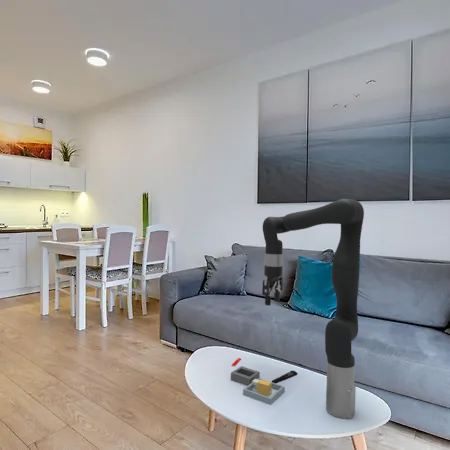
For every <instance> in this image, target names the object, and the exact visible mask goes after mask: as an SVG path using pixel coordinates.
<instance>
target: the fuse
mask: <svg viewBox="0 0 450 450" xmlns="http://www.w3.org/2000/svg"><path fill="white" fill-rule="evenodd" d="M260 379H261V380H258V379H254V380H253V381H252V384H253V385H256V386H255V387H254V388H252V390H251V391H253V392H256V393H259V394H261V395H264V396H267V397H270V396H271V394H272V390H273V389H272V383H271V382H272V381H269V382H268V380H266V379H263V378H260ZM262 379H263V380H262ZM265 380H266V381H265Z"/></svg>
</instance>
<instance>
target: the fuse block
mask: <svg viewBox="0 0 450 450" xmlns="http://www.w3.org/2000/svg"><path fill="white" fill-rule="evenodd" d="M260 374H261V372H260V371H258V370H255V369H252V368H248V367H246V366H243V365H241V366H239V367H238V368H236V369H234V370H233V371H231V372H230V381H231V382H232V381H233V382H234V383H238V384H241V385H244V386H246V387H247V386H248V385H250V384H251V383H252V381H253V380H254V379H258V378H260V376H261V375H260ZM260 379H261V378H260Z"/></svg>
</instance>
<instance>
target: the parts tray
mask: <svg viewBox="0 0 450 450" xmlns="http://www.w3.org/2000/svg"><path fill="white" fill-rule="evenodd" d="M261 379H262V380H265V381H268V380H267V379H264V378H258V380H261ZM268 382H271V383H272V381H268ZM255 386H256V385H253V384H252V383H251V384H250V385H248V386H246V387H244V388H243V389H242V396H246V397H249V398H250V399H254V400H257V401H259V402H262V403H265V404H268V405H271V406H272V404H273V403H274V402H276V400H278V398H280V397H281V396H282V395H283V394H284V393H285V392H286V391H285V390H286V386H284V385H281V384H280V383H276V384H275V383H272V390H275V391H276V392H274V393H273V394H272V395H270V396H268V397H267V396H264V395H261V394H259V393H257V392H254V391H252V388H254V387H255ZM256 387H257V386H256Z"/></svg>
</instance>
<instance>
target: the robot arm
mask: <svg viewBox="0 0 450 450" xmlns="http://www.w3.org/2000/svg"><path fill="white" fill-rule="evenodd" d="M364 217H365V210H364V206H363V205H362V203H361V202H360V201H358V200H356V199H352V198H351V199H350V198H340V199H338V200H335V201H332V202H330V203H328V204H327V203H326V204H325V205H323V206H319V207H316V208H312V209H307V210H302V211H301V210H300V211H297V212H291V213H287V214H286V215H284V216H267V217H266V218H264V220H263V222H262V233H263V237H264V241H265V255H264V269H263V270H264V271H263V275H264V276H265V277H267V278H266V280H265V279H263V280H262V287H261V288H262V291H261V295H262V296H264V305H265V306H271V305H272V303H271V300H272V298H271V297H272V293H273V292H274V296H273V298H274V299H273V300H274V302H277V303H279V302H280V300H281V299H280V298H281V292H282V291H283V287H284V285H283V284H284V283H283V282H284V281H283V277H284V276H283V267H284V264H283V262H284V261H283V260H284V258H283V257H284V256H283V247H284V246H283V242H282V240H280V239H279V238H278V235H279V234H284V233H288V232H293V231H300V230H306V229H310V228H312V227H315V226H318V225H320V226H321V225H328V224H329V225H331V224H333V225H340V237H339V240H338V241H339V242H338V244H337V247H336V250H335V252H334V255H333V258H332V263H331V283H332V287H333V291H334V293H335V298H336V308H335V309H336V310H335V315H334V318H332V319H331V320H330V321H328V322H327V324H326V325H325V330H324V333H325V334H324V341H325V342H324V345H325V346H324V348H325V351H324V352H325V355H326V357H327V358H326V390H325V396H326V397H325V409H326V411H327V413H329V414H330V415H331V416H333V417H336V418H342V419H349V420H351V419H352V418H353V415H354V414H355V412H356V392H357V391H356V389H357V388H356V387H357V385H356V384H355V364H356V360H355V356H354V355H353V354H352V342H353V341H354V340H355V339H356V338H357V336H358V334H359V319H358V318H359V317H358V298H359V296H358V294H359V282H360V265H361V264H360V263H361V262H360V260H361V259H360V258H361V239H362V238H361V237H362V231H363V230H362V229H363V223H364Z"/></svg>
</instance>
